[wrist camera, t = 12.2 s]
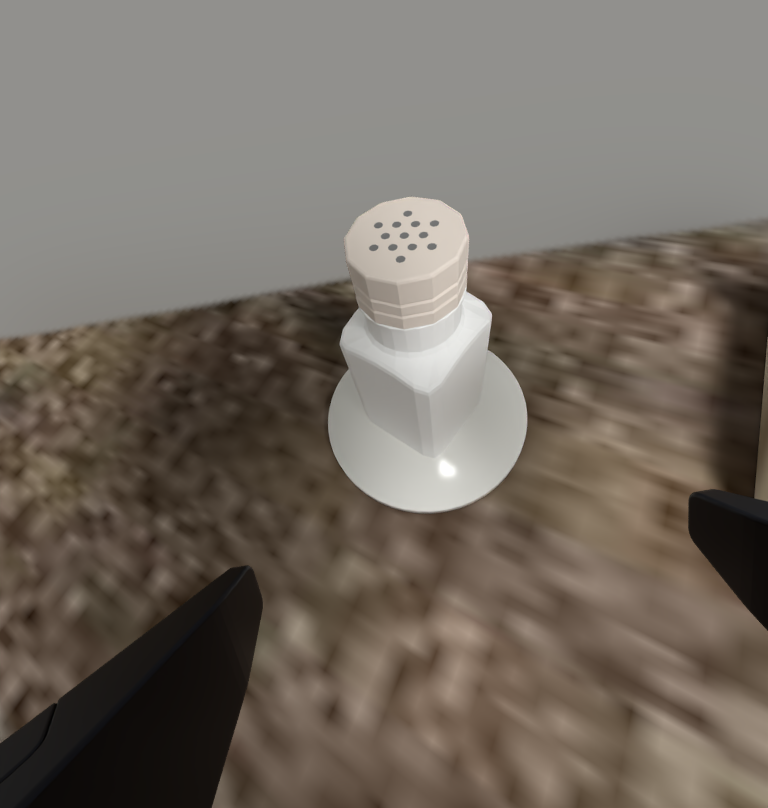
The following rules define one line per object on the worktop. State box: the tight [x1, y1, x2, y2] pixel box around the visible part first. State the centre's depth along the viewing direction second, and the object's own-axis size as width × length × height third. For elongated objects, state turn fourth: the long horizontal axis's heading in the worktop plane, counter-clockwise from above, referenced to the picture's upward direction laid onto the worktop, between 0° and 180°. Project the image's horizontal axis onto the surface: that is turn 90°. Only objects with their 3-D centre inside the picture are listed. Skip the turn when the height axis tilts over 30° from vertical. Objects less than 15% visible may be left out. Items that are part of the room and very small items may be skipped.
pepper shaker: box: [340, 197, 492, 458], centre depth 14 cm, size 4×4×10 cm
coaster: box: [328, 350, 527, 514], centre depth 19 cm, size 9×9×1 cm
